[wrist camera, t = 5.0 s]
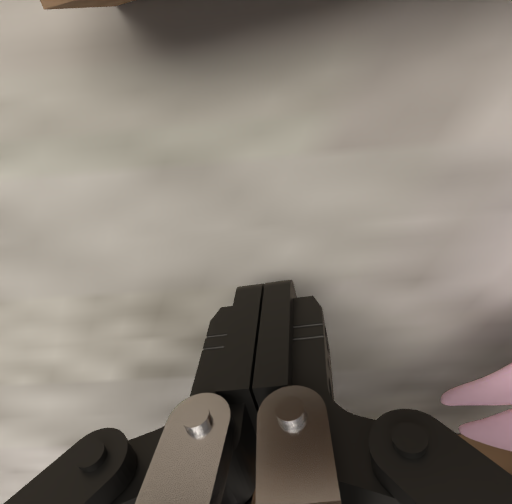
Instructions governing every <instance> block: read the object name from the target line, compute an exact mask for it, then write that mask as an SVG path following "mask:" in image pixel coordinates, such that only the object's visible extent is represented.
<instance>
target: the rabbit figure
mask: <svg viewBox="0 0 512 504" xmlns="http://www.w3.org/2000/svg"><path fill="white" fill-rule="evenodd" d="M440 400H441V403H442V404H444V405H447V406H460V405H512V363H510V364H509V365H507V366H505V367H503V368H501V369H499V370H498V371H496V372H494V373H492V374H489V375H487V376H485V377H482V378H480V379H477V380H474V381H471V382H469V383H465V384H462V385H460V386H457V387H454V388H452V389H450V390H448V391H447V392H445V393H444V394H443V395H442V396H441V399H440ZM459 431H460V433H461V434H462V435H464V436H465V437H468V438H470V439H472V440H475V441H478V442H481V443H484V444H487V445H490V446H493V447H497V448H500V449H504V450H508V451H512V409H509V410H506V411H503V412H500V413H498V414H495V415H492V416H490V417H487V418H483V419H480V420H476V421H472V422H468V423H465V424H462V425H460V426H459Z"/></svg>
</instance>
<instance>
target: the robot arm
mask: <svg viewBox="0 0 512 504" xmlns="http://www.w3.org/2000/svg"><path fill="white" fill-rule="evenodd" d="M203 349H204V350H203V351H202V354H201V358H200V361H199V365H198V369H197V372H196V376H195V380H194V383H193V387H192V391H191V394H190V397H189V398H187V399H185V400H184V401H182V402H181V403H180V404H179V405H177V406H176V407H175V409H174V410H173V411H172V412H171V414H170V415H169V418H168V420H167V422H166V425H165V426H164V427H162V428H160V429H158V430H155V431H153V432H150V433H147V434H145V435H142V436H139V437H137V438H134V439H131V440H127V438H126V436H125V435H124V434H123V433H122V432H121V431H120V430H118V429H115V428H103V429H99V430H96V431H94V432H92V433H90V434H88V435H86V436H85V437H83V438H82V439H81V440H79V441H78V442H77V443H76V444H74V445H73V446H72V447H71V448H70V449H69V450H67V451H66V452H65V453H64V454H63V455H61V456H60V457H59V458H58V459H57V460H55V461H54V462H53V463H52V464H51V465H49V466H48V467H47V468H46V469H45V470H43V471H42V472H41V473H40V474H39V475H37V476H36V477H35V478H34V479H33V480H31V481H30V482H29V483H28V484H27V485H25V486H24V487H23V488H22V489H21V490H19V491H18V492H17V493H16V494H15V495H13V496H12V497H11V498H10V499H9V500H7V501H6V502H5V503H4V504H512V475H511V474H510V473H508V472H507V471H506V470H504V469H503V468H502V467H500V466H499V465H498V464H496V463H495V462H493V461H492V460H491V459H489V458H488V457H487V456H485V455H484V454H483V453H481V452H480V451H479V450H477V449H476V448H475V447H473V446H472V445H470V444H469V443H468V442H466V441H465V440H464V439H462V438H461V437H460V436H458V435H457V434H456V433H454V432H453V431H452V430H450V429H449V428H447V427H446V426H445V425H443V424H442V423H441V422H439V421H438V420H437V419H435V418H433V417H432V416H430V415H428V414H426V413H424V412H421V411H417V410H412V409H398V410H393V411H390V412H387V413H385V414H383V415H382V416H380V417H379V418H378V419H377V420H373V419H368V418H364V417H360V416H357V415H353V414H351V413H349V412H347V411H345V410H344V409H342V408H341V407H340V406H338V405H337V404H336V403H335V401H334V395H333V383H332V372H331V360H330V349H329V344H328V338H327V333H326V328H325V322H324V317H323V311H322V307H321V306H320V305H319V303H318V302H317V301H316V299H315V298H314V297H313V296H308V297H300V298H296V293H295V289H294V284H293V281H292V280H286V281H278V282H271V283H265V284H257V285H249V286H242V287H237V289H236V294H235V298H234V303H233V306H229V307H221V308H220V310H219V311H218V312H217V313H216V315H215V316H214V317H213V318H212V320H211V321H210V325H209V328H208V332H207V338H206V339H205V343H204V347H203Z"/></svg>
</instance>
